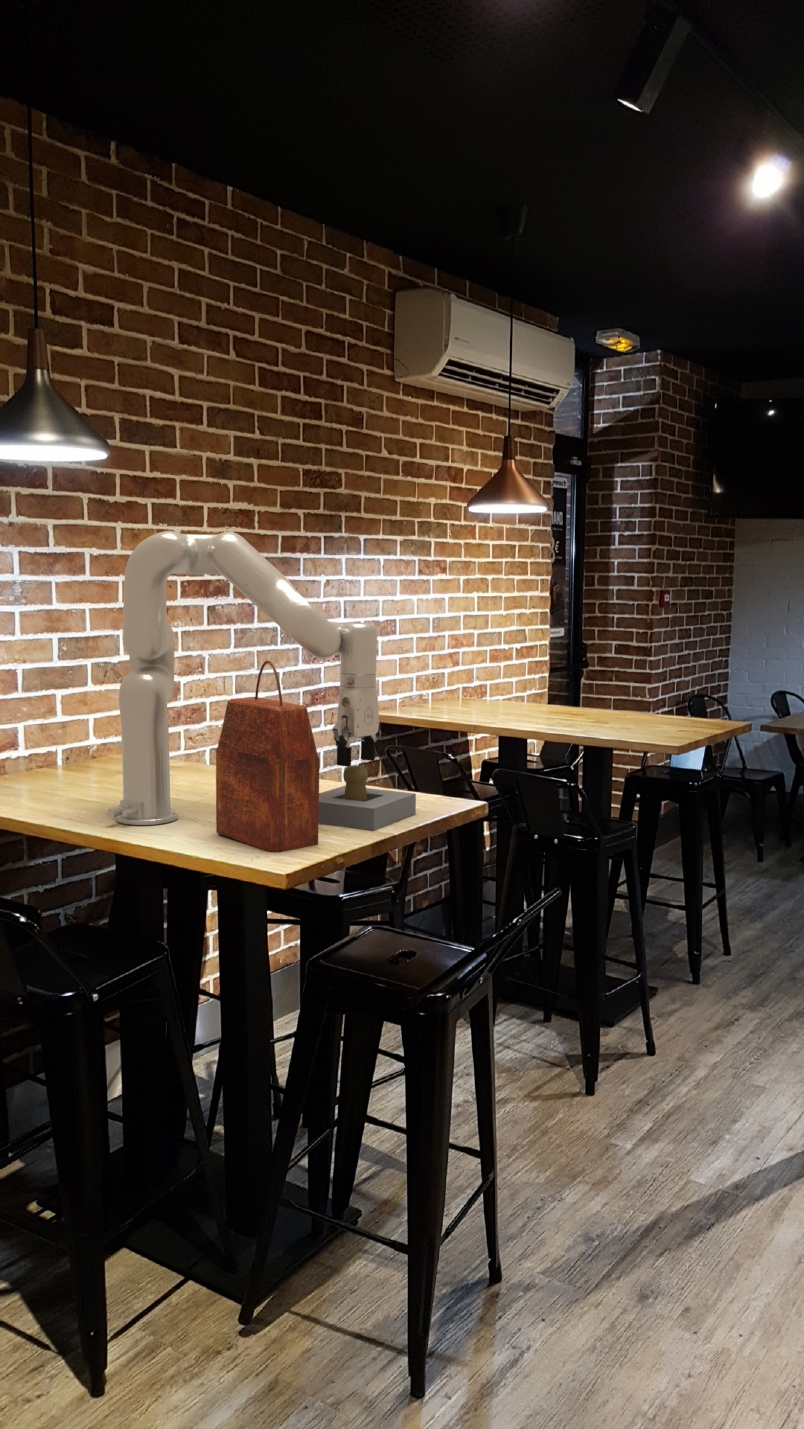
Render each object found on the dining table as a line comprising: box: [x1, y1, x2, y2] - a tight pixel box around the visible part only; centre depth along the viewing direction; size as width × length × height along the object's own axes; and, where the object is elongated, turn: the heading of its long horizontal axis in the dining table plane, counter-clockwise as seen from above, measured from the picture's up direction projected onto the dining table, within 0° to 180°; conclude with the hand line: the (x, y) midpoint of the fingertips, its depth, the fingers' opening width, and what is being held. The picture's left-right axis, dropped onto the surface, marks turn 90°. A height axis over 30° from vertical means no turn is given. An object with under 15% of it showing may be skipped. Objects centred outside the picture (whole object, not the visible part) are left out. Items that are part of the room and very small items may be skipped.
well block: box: [319, 785, 417, 831], centre depth 224 cm, size 18×18×4 cm
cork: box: [342, 765, 369, 802], centre depth 223 cm, size 6×6×11 cm
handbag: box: [215, 660, 321, 853], centre depth 201 cm, size 10×19×35 cm, turn 43°
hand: (356, 762), depth 222 cm, fingers open, 9 cm apart
